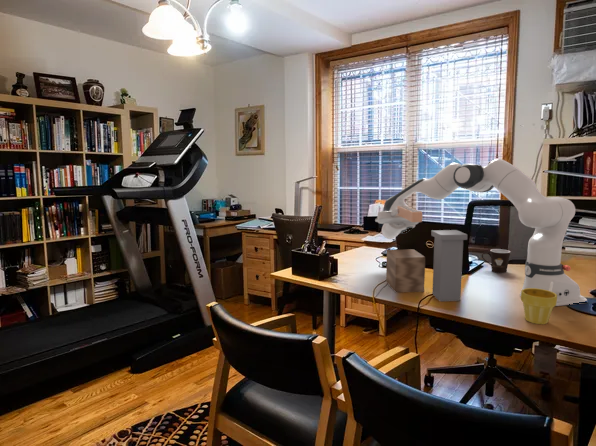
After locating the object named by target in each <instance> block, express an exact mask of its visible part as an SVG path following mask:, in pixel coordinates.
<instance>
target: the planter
mask: <svg viewBox="0 0 596 446" xmlns="http://www.w3.org/2000/svg"><path fill="white" fill-rule="evenodd" d="M397 209H399V214H397V215H398V216H401V217H403V218H405V219H407V220H409V221H411V222H419V223H423V218H422V215H423V212H421V211H422V210H418V209H416V208H413V207H410V206H409V205H407V206H397Z"/></svg>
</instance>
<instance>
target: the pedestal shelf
mask: <svg viewBox="0 0 596 446" xmlns="http://www.w3.org/2000/svg"><path fill="white" fill-rule="evenodd" d="M430 232H431V235H430V236H431V237H434V243H433V269H432V291H431V292H432V293H431V294H433V295H434V296H435V297H434V296H433V295H432V296H433V297H434V298H435V299H437V300H438V302H460V301H461V295H462V278H463V277H462V276H463V274H462V273H463V254H464V252H463V251H464V241H468V234H467V233H464V232H462V231H460V230H458V229H451V230H450V229H443V230H441V229H439V230H433V229H432V230H431V231H430Z"/></svg>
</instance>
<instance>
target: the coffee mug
mask: <svg viewBox="0 0 596 446" xmlns="http://www.w3.org/2000/svg"><path fill="white" fill-rule="evenodd" d="M485 254H487V255H488V256H489V258H490V262H489V261H488V260H487V259H485V258H484V255H485ZM510 256H511V251H510V250H507V249H503V248H502V249H501V248H492V249H490V252H487V251H485V252H482V253H481V258H482V260H483V261H485V263H487V264H489V265H490V267H491V272H493V273H497V274H505V273H507V272H508V265H509V261H510Z"/></svg>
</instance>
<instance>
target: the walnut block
mask: <svg viewBox="0 0 596 446" xmlns="http://www.w3.org/2000/svg"><path fill="white" fill-rule="evenodd" d="M385 271H386V274H385V276H386V279H385V282H386V283H387V284H388V286H389V287H390V288H391V289H392V290H393V291H394V293H418V292H419V293H423V292H425V281H426V279H425V278H426V277H425V276H426V275H425V274H426V273H425V272H426V256H424V255H423V254H422V253H420V252H418V251H417V249H416V250H415V249H411V248H410V249H409V248H408V249H386V270H385Z"/></svg>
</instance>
